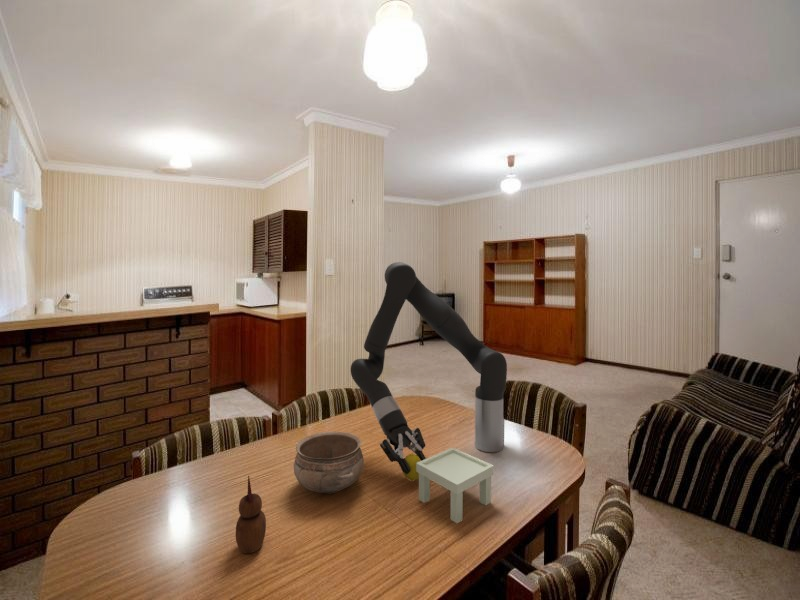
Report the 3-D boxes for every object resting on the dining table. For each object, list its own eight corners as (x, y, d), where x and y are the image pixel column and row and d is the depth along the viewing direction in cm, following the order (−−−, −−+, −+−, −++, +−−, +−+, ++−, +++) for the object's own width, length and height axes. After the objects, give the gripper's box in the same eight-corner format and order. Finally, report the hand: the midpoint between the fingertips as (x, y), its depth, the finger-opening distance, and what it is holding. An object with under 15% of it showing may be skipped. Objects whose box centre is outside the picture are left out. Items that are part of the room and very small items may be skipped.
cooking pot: (282, 477, 114) (281, 436, 113) (342, 460, 124) (341, 422, 123) (312, 523, 93) (312, 472, 92) (382, 498, 103) (381, 452, 102)
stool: (452, 481, 111) (452, 447, 111) (493, 502, 101) (493, 465, 100) (416, 499, 102) (416, 462, 102) (457, 525, 92) (457, 484, 91)
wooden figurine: (242, 537, 88) (240, 472, 87) (269, 536, 88) (267, 471, 87) (232, 559, 81) (230, 489, 80) (261, 557, 82) (259, 487, 81)
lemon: (420, 487, 108) (420, 459, 107) (400, 485, 109) (400, 457, 108) (423, 477, 113) (423, 450, 113) (404, 475, 114) (404, 448, 114)
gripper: (375, 414, 111) (403, 472, 103) (413, 403, 120) (441, 455, 112) (364, 427, 115) (390, 483, 107) (401, 415, 124) (428, 466, 116)
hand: (416, 468), depth 109 cm, fingers closed on lemon, 5 cm apart
